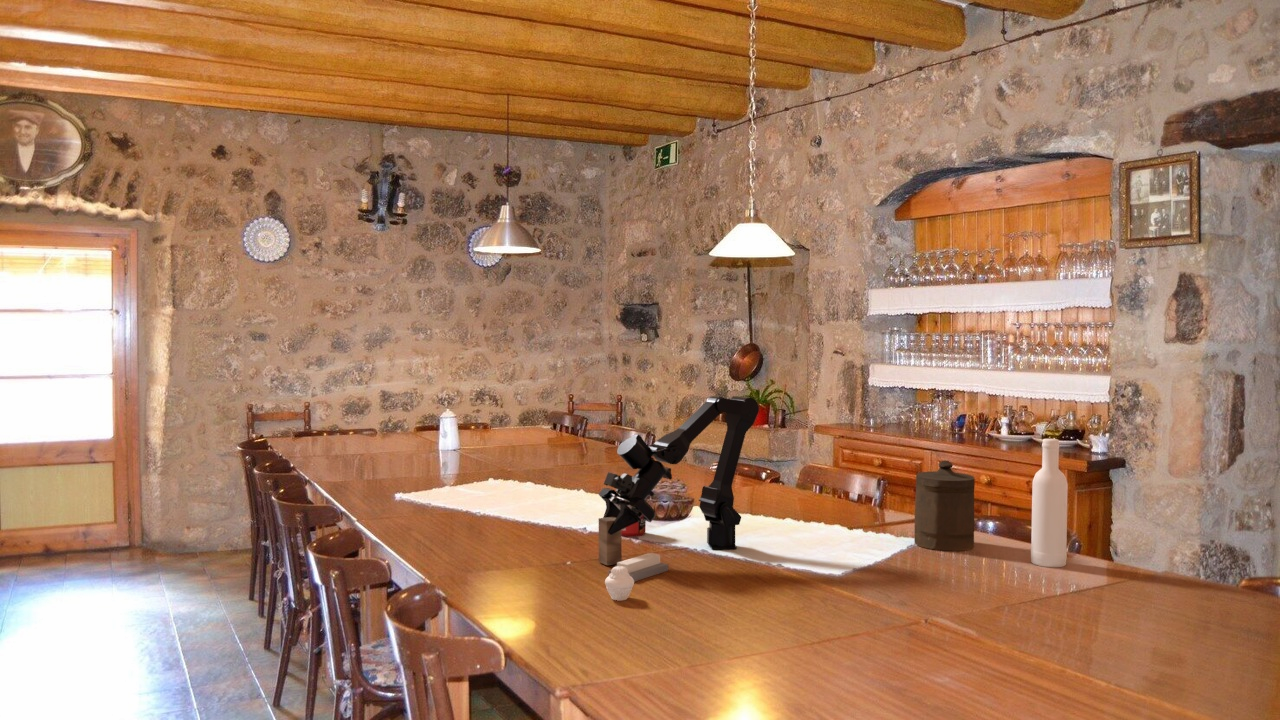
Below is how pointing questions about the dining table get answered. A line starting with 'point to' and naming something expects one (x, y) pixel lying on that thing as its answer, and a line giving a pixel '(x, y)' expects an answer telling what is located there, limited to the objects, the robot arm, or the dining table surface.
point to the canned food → (635, 528)
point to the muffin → (619, 583)
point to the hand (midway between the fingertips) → (604, 531)
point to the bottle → (1049, 510)
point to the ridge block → (643, 566)
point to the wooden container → (944, 509)
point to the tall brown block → (609, 543)
